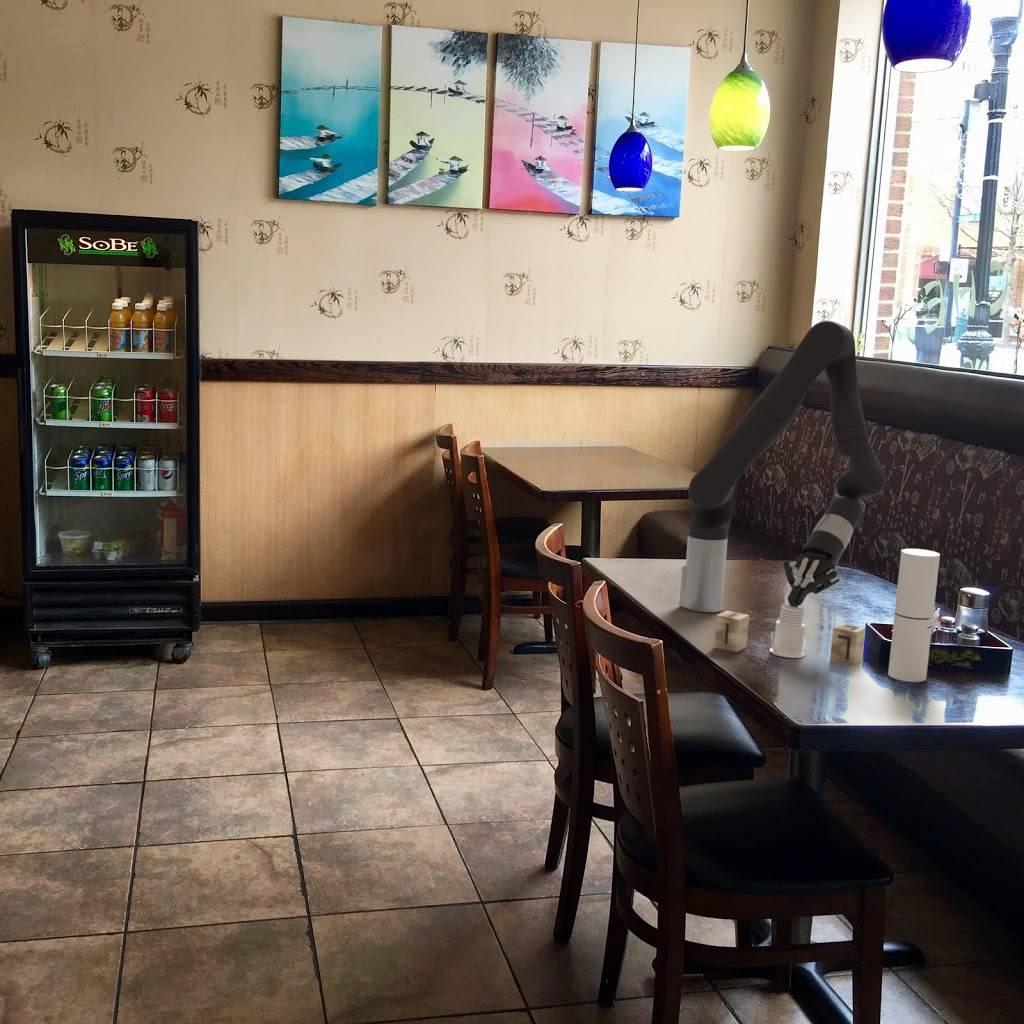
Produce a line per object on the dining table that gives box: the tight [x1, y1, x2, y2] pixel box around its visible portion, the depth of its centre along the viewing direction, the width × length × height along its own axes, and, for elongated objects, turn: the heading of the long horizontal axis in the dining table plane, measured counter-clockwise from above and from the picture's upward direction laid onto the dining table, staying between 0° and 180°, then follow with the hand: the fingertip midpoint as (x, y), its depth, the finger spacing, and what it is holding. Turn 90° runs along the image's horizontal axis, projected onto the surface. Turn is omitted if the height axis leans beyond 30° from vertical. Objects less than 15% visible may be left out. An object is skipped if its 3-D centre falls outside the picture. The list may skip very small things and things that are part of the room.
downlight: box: [769, 604, 807, 659], centre depth 245 cm, size 8×7×10 cm
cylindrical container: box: [887, 548, 941, 683], centre depth 232 cm, size 7×7×25 cm
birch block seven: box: [829, 622, 866, 667], centre depth 243 cm, size 5×5×7 cm
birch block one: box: [714, 610, 750, 653], centre depth 248 cm, size 5×5×7 cm
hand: (792, 604), depth 244 cm, fingers closed
